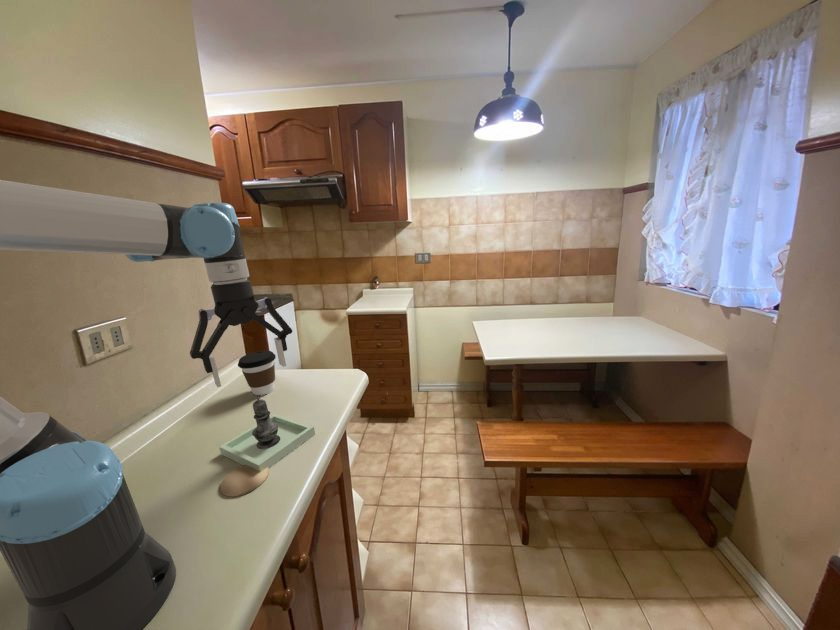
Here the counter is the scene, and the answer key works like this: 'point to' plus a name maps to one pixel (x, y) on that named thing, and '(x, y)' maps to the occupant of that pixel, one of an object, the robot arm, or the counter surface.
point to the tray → (259, 459)
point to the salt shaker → (264, 426)
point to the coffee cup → (259, 371)
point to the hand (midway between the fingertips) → (252, 374)
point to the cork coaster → (243, 481)
